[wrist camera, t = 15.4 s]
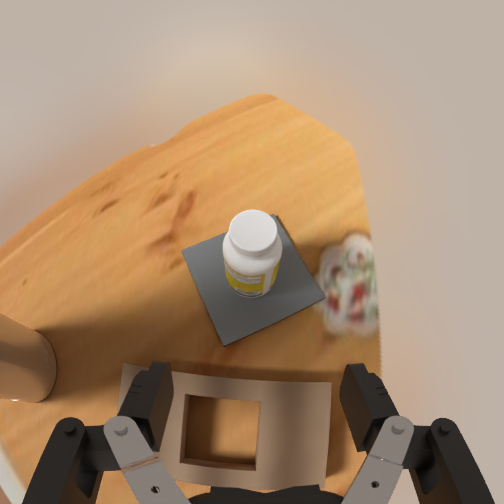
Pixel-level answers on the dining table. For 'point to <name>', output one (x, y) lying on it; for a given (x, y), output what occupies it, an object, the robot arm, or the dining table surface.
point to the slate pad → (242, 308)
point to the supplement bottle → (252, 253)
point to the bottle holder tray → (268, 434)
